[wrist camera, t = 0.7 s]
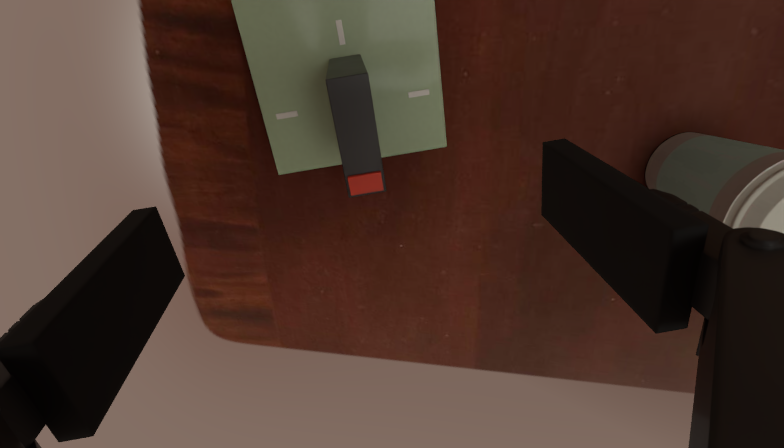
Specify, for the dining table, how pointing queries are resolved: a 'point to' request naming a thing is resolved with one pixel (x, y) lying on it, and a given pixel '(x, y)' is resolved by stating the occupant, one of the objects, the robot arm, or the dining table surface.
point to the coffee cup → (722, 178)
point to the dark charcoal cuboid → (355, 125)
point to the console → (310, 63)
